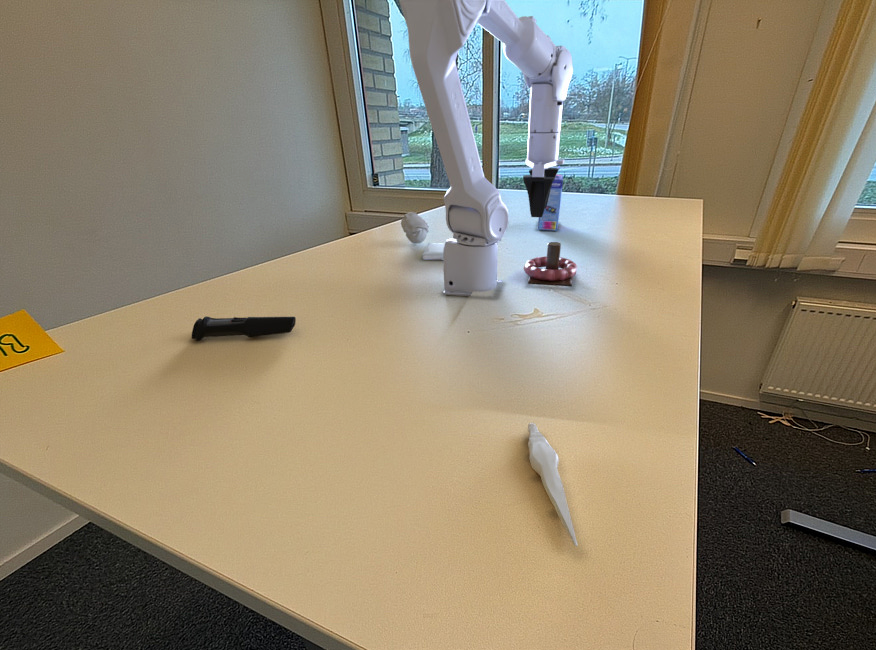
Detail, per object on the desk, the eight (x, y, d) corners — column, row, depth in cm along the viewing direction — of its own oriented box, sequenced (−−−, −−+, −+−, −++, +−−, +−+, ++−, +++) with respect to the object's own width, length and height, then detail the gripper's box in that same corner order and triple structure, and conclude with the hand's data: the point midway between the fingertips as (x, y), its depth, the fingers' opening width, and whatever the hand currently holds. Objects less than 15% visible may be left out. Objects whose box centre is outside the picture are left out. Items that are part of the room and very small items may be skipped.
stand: (527, 286, 82) (530, 248, 78) (532, 272, 88) (534, 237, 84) (571, 289, 80) (575, 251, 76) (572, 275, 87) (577, 238, 83)
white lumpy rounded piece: (414, 238, 111) (411, 208, 107) (435, 242, 107) (433, 211, 103) (397, 243, 107) (394, 213, 103) (419, 248, 103) (416, 216, 99)
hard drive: (422, 253, 95) (479, 253, 94) (428, 242, 102) (481, 242, 101) (423, 260, 96) (479, 260, 95) (428, 249, 103) (481, 249, 102)
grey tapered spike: (518, 434, 46) (518, 420, 45) (542, 432, 47) (544, 418, 46) (558, 555, 34) (561, 540, 33) (591, 552, 34) (595, 536, 33)
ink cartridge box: (558, 231, 114) (564, 169, 106) (537, 231, 115) (541, 169, 107) (558, 222, 122) (564, 163, 114) (538, 222, 123) (542, 163, 115)
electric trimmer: (295, 341, 66) (290, 321, 64) (191, 342, 66) (183, 322, 64) (302, 330, 69) (298, 311, 67) (203, 331, 69) (196, 312, 67)
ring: (519, 279, 82) (519, 269, 81) (529, 263, 90) (529, 253, 89) (573, 284, 80) (574, 273, 78) (578, 267, 87) (580, 257, 86)
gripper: (564, 135, 72) (556, 221, 80) (568, 129, 83) (561, 205, 91) (522, 135, 73) (518, 220, 81) (531, 129, 85) (527, 204, 93)
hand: (538, 212), depth 86 cm, fingers open, 7 cm apart
